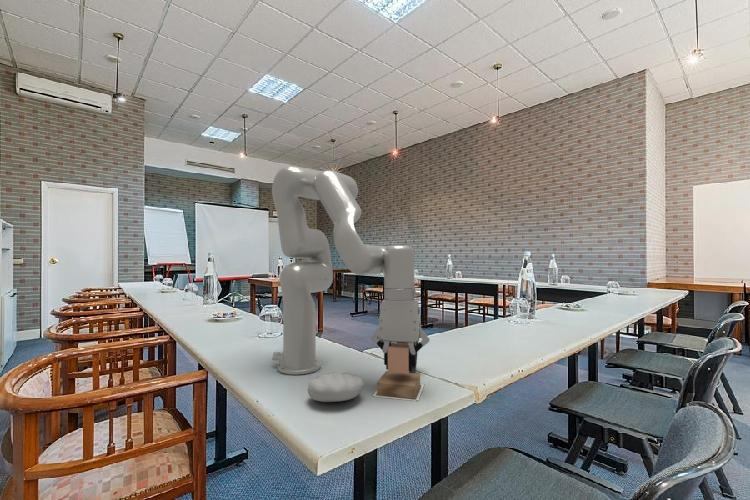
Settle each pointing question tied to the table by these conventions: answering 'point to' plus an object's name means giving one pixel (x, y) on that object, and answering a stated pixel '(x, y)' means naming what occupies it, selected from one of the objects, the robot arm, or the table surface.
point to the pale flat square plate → (404, 398)
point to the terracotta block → (398, 358)
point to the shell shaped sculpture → (335, 387)
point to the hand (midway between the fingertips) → (400, 368)
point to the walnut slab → (399, 385)
